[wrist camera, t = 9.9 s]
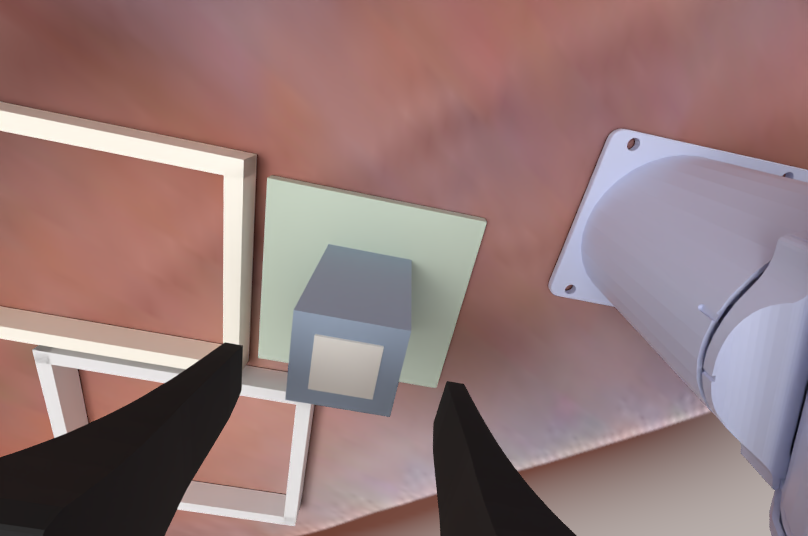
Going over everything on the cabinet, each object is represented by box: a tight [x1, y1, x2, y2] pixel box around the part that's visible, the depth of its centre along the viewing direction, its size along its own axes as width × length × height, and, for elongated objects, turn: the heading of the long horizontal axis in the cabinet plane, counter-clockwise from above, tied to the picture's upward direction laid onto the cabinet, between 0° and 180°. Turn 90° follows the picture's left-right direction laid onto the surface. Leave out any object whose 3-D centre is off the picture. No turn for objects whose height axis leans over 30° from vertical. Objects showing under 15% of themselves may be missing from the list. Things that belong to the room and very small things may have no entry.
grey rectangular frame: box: [32, 345, 314, 526], centre depth 24 cm, size 15×12×2 cm
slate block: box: [285, 244, 412, 417], centre depth 17 cm, size 4×4×6 cm
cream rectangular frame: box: [0, 102, 257, 371], centre depth 19 cm, size 15×12×2 cm
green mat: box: [258, 175, 487, 388], centre depth 20 cm, size 10×10×1 cm
